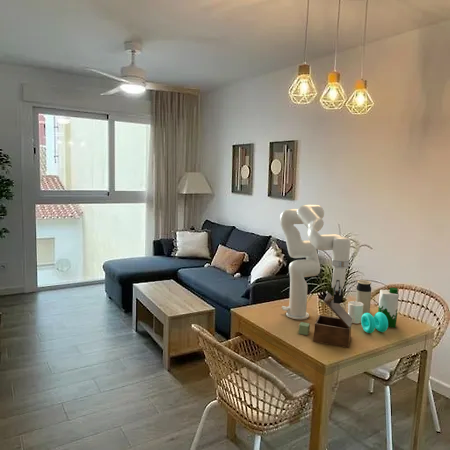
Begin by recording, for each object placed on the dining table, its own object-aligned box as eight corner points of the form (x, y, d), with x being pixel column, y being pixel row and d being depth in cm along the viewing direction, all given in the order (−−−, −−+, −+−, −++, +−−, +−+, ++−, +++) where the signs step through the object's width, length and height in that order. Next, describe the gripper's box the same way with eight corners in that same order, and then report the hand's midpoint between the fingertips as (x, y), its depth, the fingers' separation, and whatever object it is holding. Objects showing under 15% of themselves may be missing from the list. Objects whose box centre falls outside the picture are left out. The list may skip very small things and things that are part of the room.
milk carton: (397, 328, 200) (400, 291, 197) (379, 327, 202) (381, 290, 199) (393, 322, 209) (396, 286, 206) (376, 321, 210) (378, 285, 208)
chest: (313, 341, 183) (314, 323, 182) (318, 331, 195) (319, 314, 194) (348, 347, 177) (349, 329, 176) (350, 337, 189) (351, 319, 188)
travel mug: (368, 315, 219) (370, 284, 216) (353, 312, 222) (355, 282, 220) (370, 311, 225) (372, 281, 223) (356, 308, 229) (358, 279, 227)
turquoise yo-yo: (388, 335, 192) (390, 316, 190) (370, 336, 190) (371, 317, 188) (376, 327, 202) (378, 309, 200) (359, 328, 199) (360, 310, 198)
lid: (323, 300, 179) (333, 293, 177) (327, 293, 191) (336, 285, 188) (348, 328, 176) (359, 321, 174) (351, 319, 188) (361, 312, 186)
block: (298, 333, 192) (299, 325, 191) (300, 330, 196) (300, 321, 195) (307, 335, 190) (308, 326, 190) (309, 331, 194) (309, 323, 194)
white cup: (344, 318, 213) (345, 301, 212) (358, 318, 214) (359, 301, 212) (350, 324, 205) (351, 306, 204) (364, 324, 206) (366, 305, 205)
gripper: (334, 259, 190) (332, 295, 192) (329, 266, 174) (327, 305, 177) (350, 260, 187) (348, 297, 189) (346, 268, 171) (344, 308, 174)
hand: (337, 300), depth 183 cm, fingers closed on lid, 5 cm apart
